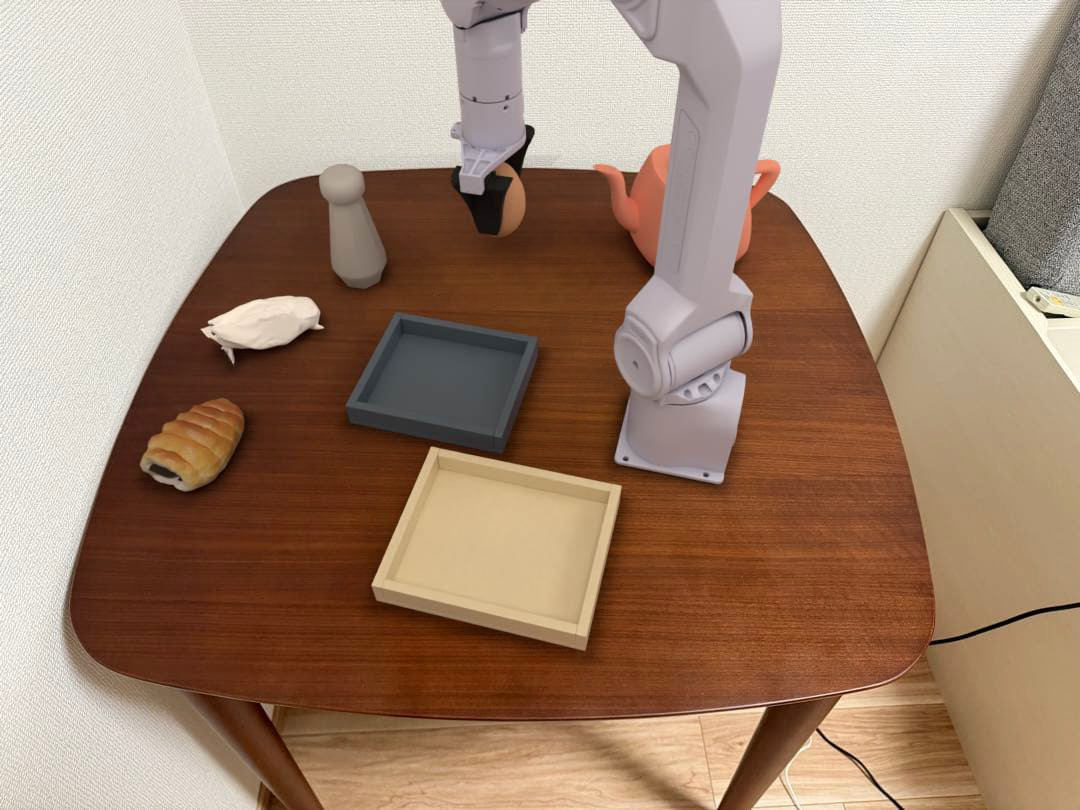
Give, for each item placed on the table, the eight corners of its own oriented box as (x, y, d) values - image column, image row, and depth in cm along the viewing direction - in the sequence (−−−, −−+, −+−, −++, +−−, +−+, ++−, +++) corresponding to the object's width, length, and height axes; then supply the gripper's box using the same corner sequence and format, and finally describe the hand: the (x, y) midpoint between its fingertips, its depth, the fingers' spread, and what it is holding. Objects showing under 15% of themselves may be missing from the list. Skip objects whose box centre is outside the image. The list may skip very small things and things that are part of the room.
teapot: (576, 221, 94) (579, 126, 85) (743, 202, 96) (764, 107, 87) (601, 299, 86) (608, 202, 76) (784, 276, 88) (812, 179, 78)
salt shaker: (379, 298, 86) (357, 193, 76) (327, 291, 87) (299, 186, 77) (396, 262, 90) (377, 158, 80) (347, 256, 90) (322, 152, 80)
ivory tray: (619, 502, 69) (621, 485, 67) (585, 651, 61) (586, 636, 59) (434, 463, 72) (431, 446, 70) (376, 600, 64) (371, 585, 62)
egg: (522, 213, 87) (520, 143, 81) (530, 247, 84) (528, 176, 77) (468, 219, 87) (462, 149, 80) (474, 253, 83) (467, 182, 77)
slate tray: (538, 355, 80) (538, 337, 79) (502, 454, 73) (501, 437, 71) (398, 329, 83) (395, 311, 81) (349, 423, 75) (344, 405, 73)
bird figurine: (250, 387, 80) (333, 325, 82) (208, 340, 75) (297, 275, 77) (234, 364, 83) (314, 305, 85) (192, 318, 78) (278, 256, 80)
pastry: (206, 402, 77) (193, 374, 74) (267, 423, 75) (256, 396, 72) (139, 478, 71) (122, 451, 68) (203, 503, 70) (188, 477, 67)
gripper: (472, 44, 78) (481, 168, 88) (420, 124, 69) (437, 251, 79) (543, 53, 77) (544, 177, 87) (500, 134, 68) (507, 262, 78)
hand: (497, 213), depth 83 cm, fingers closed on egg, 6 cm apart
